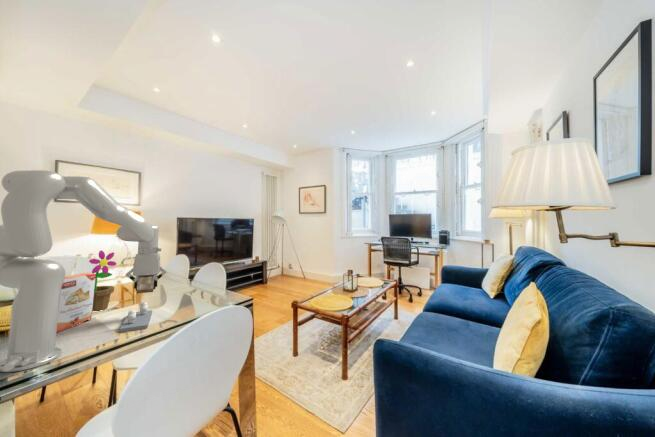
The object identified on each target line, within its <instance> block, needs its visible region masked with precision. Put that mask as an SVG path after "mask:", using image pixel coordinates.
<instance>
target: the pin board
mask: <svg viewBox="0 0 655 437" xmlns="http://www.w3.org/2000/svg"><path fill="white" fill-rule="evenodd" d="M139 306H140V310H139V311H136V309H130V310H129V311H128V313H127V315H126V317H125V319H124V321H123V323H122V324H121V326H120V328H119V333H121V334H122V333H126V332H132V331H138V330H139V329H141V330H146V328H147V329H148V328H149V325H150V321H151V318H152V315H153V310H152V309H151V310H148V302H146V301H143V302H141V304H140V305H139Z"/></svg>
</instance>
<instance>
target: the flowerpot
mask: <svg viewBox="0 0 655 437" xmlns="http://www.w3.org/2000/svg"><path fill="white" fill-rule="evenodd" d="M114 256H115V252H110V253H108V254H107V255H106V254H105V251H103V250H99V252H98V258H99V259H98V258H91V259H89V261H88V262H89V263H90V264H94V265H96V266H95V267H94V268H92V271H91V273H93V274H96V277H95V287H94V297H93V307H92V310H94V311H100V310H103V311H105V309H106V310H107V309H108V306H109V303H110V298H111V294H113V293H114V291H115V287H114V286H113V285H98V278H99V279H105V278H108V277H111V276H113V273H110V272H109V266H111V267H114V266H117V263H118V262H116V261H113V260H111V259H112V258H113V257H114ZM100 270H101V272H100ZM100 312H101V311H100Z"/></svg>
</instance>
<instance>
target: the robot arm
mask: <svg viewBox="0 0 655 437" xmlns="http://www.w3.org/2000/svg"><path fill="white" fill-rule="evenodd" d="M1 186H2V188H3V189H4V190H5V191H6V192H8V193H7V194H6V195H5V197H4V199H3V200H2V203H1V207H0V213H1V221H2V224H3V225H2V226H1V227H0V286H2V287H5V288H9V289H18V292H17V293H16V295H15V297H14V299H13V301H12V304H11V311H10V324H9V334H8V335H9V336H8V345H7V358H5V359H3V360H2V361H1V362H0V372H1V373H13V372H20V371H26V370H29V369H34V368H37V367H41V366H43V365H45V364H48V363H51V362H52V361H54V360H56V359H57V358H59V357H60V356H61V355H62V353H63V352H62V348H60V347H56V342H57V333H56V331H57V319H58V308H59V307H58V306H59V297H60V291H61V288H62V285H63V282H64V279H65V276H66V270H65V267H64V266H63V264H61V263H60V262H57V261H54V260H51V259H45V258H43V259H41V258H35V257H41V256H43V255H45V254H47V253H49V252H50V251H51V250H52V247H53V237H52V233H51V229H50V224H49V220H48V213H47V210H48V209H47V208H48V206H49V204H50V203H51V201H52V200H75V201H77V202H78V203H79V204H81V205H82V206H83V207H84V208H85V209H87V210H88V211H89V212H90V213H91V214H93V215H94V216H95V217H96V218H97V219H99V220H102V221H105V222H107V223H112V224H115V225H117V226H120V227H118V228H117V229H116V237H118V239H120V240H121V241H124V242H133V243H134V242H137V243H138V244H137V247H138V248H137V253H136V254H135V256H134V260H133V267H132V268H131V269H130V270H128V272H126V273H125V276H126V277H127V278H128V279H130V280H131V281H132V282H133V289H134V290H135V292H137V279H138V277H139V276H146V275H153V276H154V285H153V289H154V290H155V289H156V288H157V287H158V281H159V279H161V278H162V277H163V276H164V275H165V274H166V273H167V271H166V270H165V269H164V268H163V267H162V266H161V256H160V255H161V254H160V253H159V252H162V248H159V234H160V228H159V226H158V225H153V224H150V222H148V220H146V219H145V218H144V217H143V216H141V215H140V214H138V213H136V212H135V211H133V210H132V209H129V208H128V207H125V206H123V205H121V204H120V203H119V202H118V201H117V200H115V198H114V197H112V196H111V195H110V194H109V193H108V192H107V191H106V190H105V189H104V188H103V187H102V185H100V184H99V183H98V182H97V181H96V180H95V179H93V178H90V177H89V176H88V177H87V176H80V175H79V176H77V175H76V176H71V175H70V176H69V175H68V176H67V175H66V176H64V175H62V174H59V173H58V172H56V171H51V170H45V169H43V170H41V169H39V170H38V169H36V170H33V169H31V170H14V171H11V172H7V173H6V174H5V175H4V176H3V177H2V178H1ZM160 272H161V273H160Z"/></svg>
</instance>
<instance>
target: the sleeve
mask: <svg viewBox="0 0 655 437" xmlns="http://www.w3.org/2000/svg"><path fill="white" fill-rule="evenodd" d="M153 285H154V276H153V275H146V276H139V277H138V279H137V291H136V294H144V293H145V294H146V293H153V292H154V290H155V289H153Z"/></svg>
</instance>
